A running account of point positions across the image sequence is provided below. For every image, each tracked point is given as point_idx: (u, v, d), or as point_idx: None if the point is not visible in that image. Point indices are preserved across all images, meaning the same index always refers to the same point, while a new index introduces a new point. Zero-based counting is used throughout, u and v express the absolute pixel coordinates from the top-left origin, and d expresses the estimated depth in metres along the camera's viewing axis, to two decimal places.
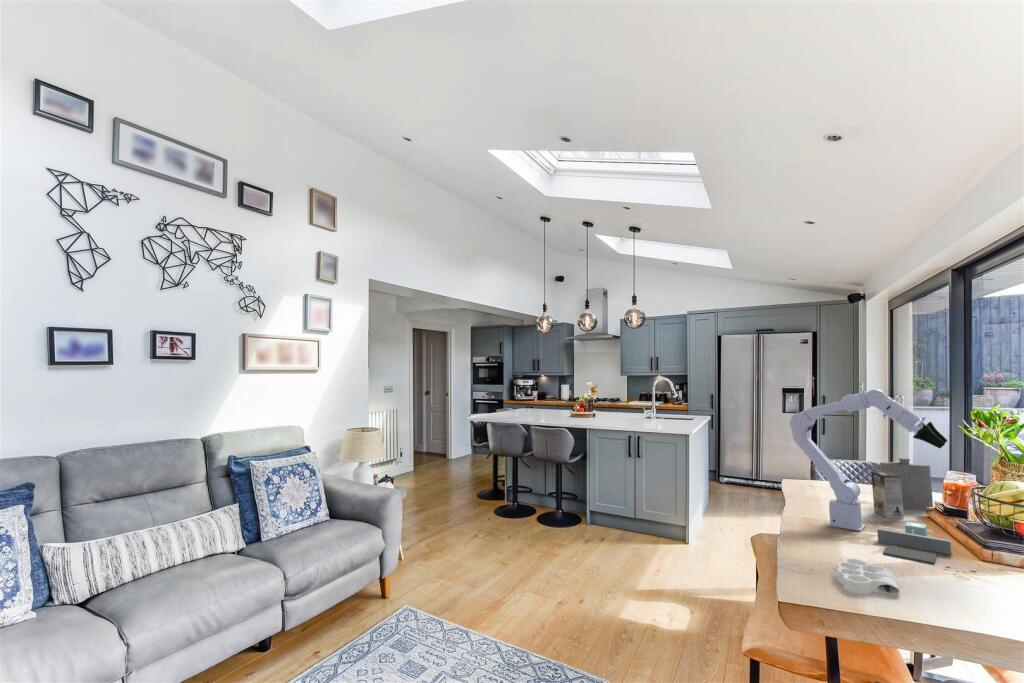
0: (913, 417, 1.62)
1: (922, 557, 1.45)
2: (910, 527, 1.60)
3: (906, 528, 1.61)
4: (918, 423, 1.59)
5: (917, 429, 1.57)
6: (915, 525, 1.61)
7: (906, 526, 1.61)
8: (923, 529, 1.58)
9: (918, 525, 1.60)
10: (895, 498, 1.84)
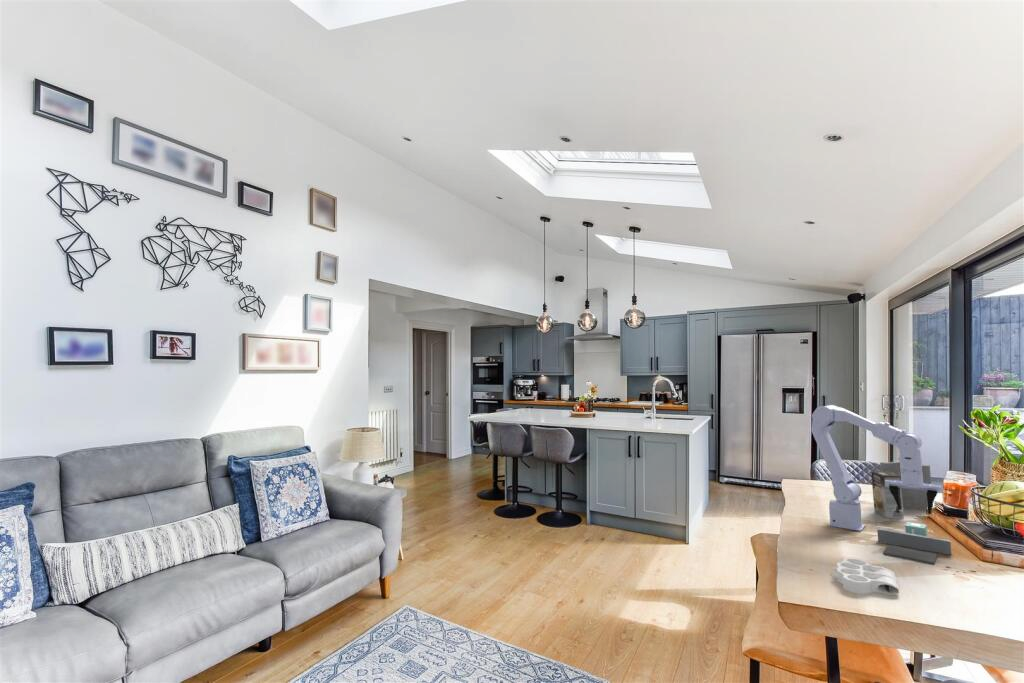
0: (903, 478, 1.62)
1: (922, 557, 1.45)
2: (910, 527, 1.60)
3: (906, 528, 1.61)
4: (895, 483, 1.64)
5: None
6: (915, 525, 1.61)
7: (906, 526, 1.61)
8: (923, 529, 1.58)
9: (918, 525, 1.60)
10: None
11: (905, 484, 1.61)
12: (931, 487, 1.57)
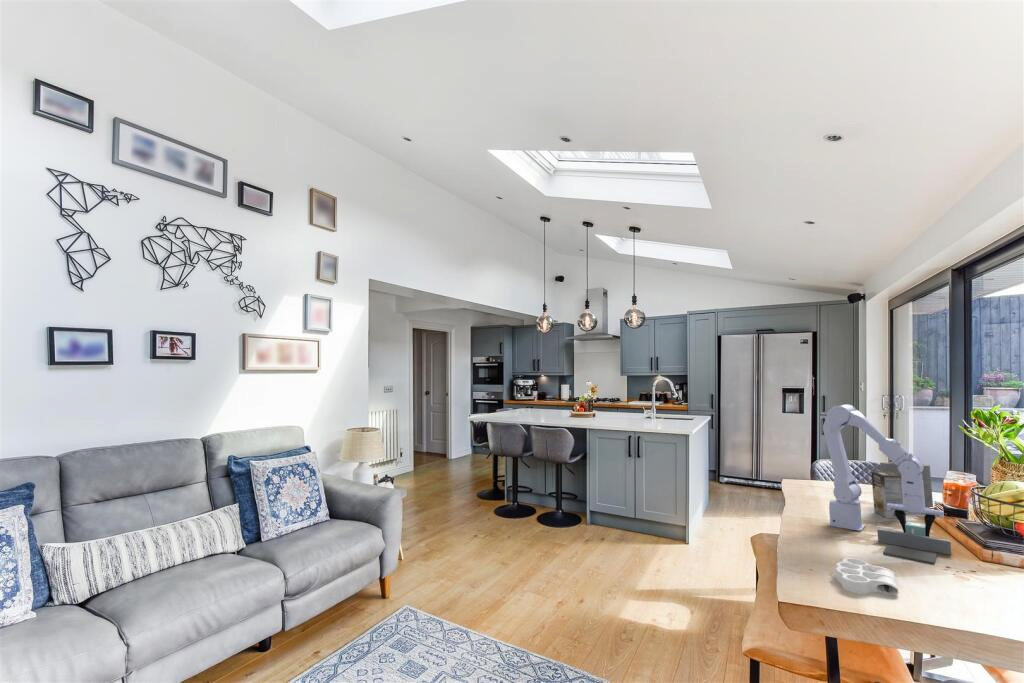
0: (905, 502, 1.62)
1: (922, 557, 1.45)
2: (910, 527, 1.60)
3: (906, 528, 1.61)
4: (897, 507, 1.63)
5: (887, 508, 1.66)
6: (915, 525, 1.61)
7: (906, 526, 1.61)
8: (923, 529, 1.58)
9: (918, 525, 1.60)
10: (895, 498, 1.84)
11: (907, 508, 1.61)
12: (933, 512, 1.57)
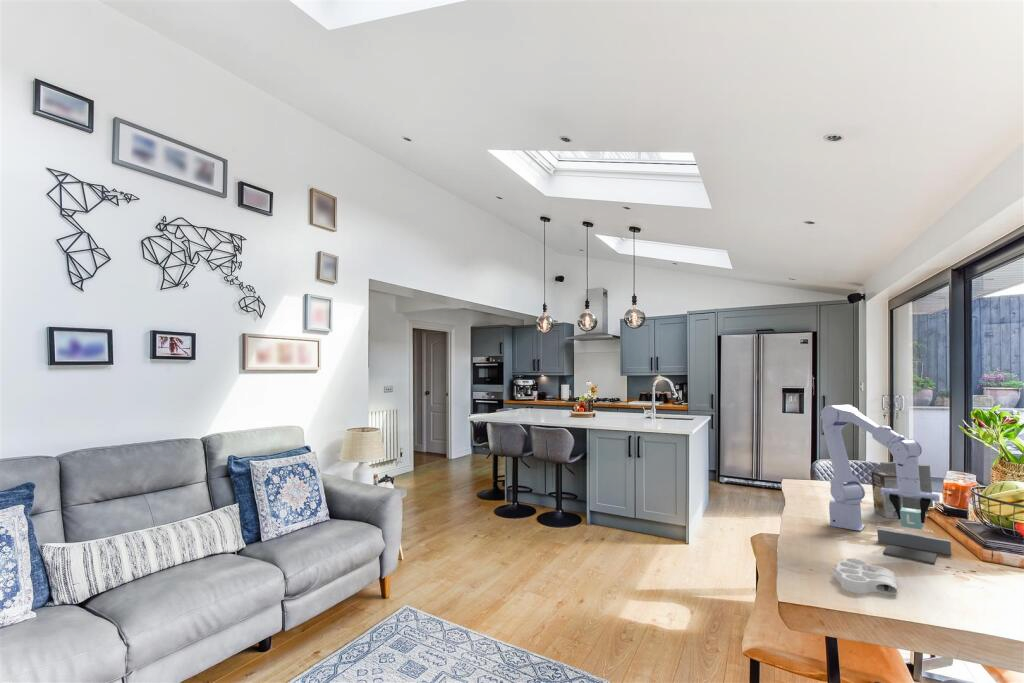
0: (899, 486, 1.56)
1: (922, 557, 1.45)
2: (905, 512, 1.54)
3: (901, 513, 1.55)
4: (891, 491, 1.57)
5: (881, 492, 1.60)
6: (910, 510, 1.55)
7: (901, 511, 1.55)
8: (918, 514, 1.52)
9: (913, 510, 1.55)
10: None
11: (902, 492, 1.55)
12: (929, 496, 1.51)
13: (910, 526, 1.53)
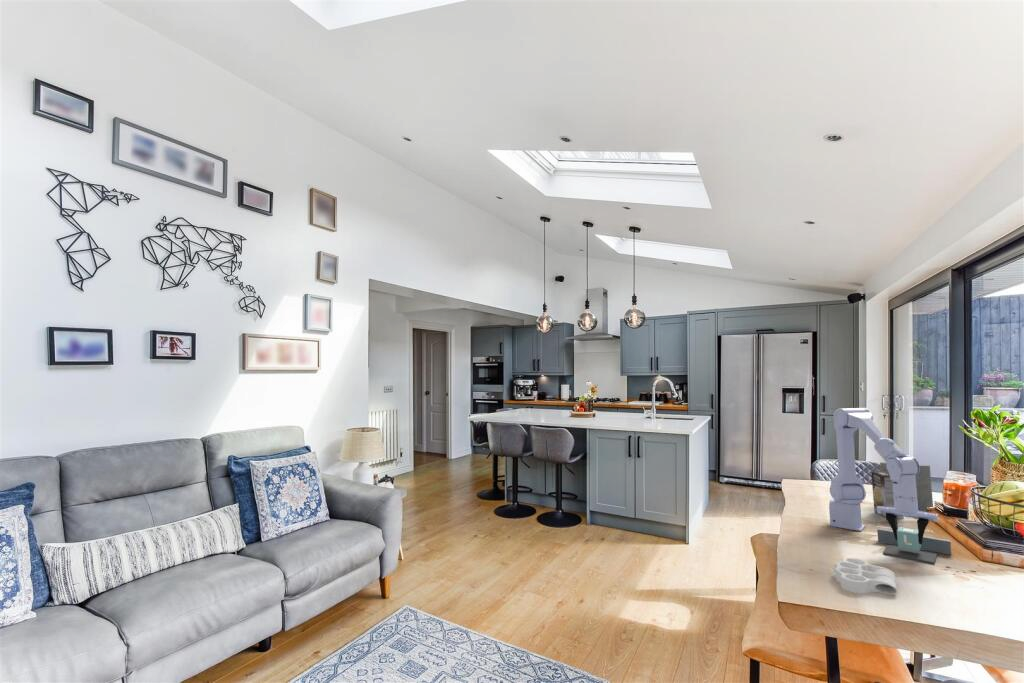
0: (896, 505, 1.50)
1: (922, 557, 1.45)
2: (902, 533, 1.49)
3: (898, 534, 1.49)
4: (887, 510, 1.51)
5: None
6: (908, 530, 1.49)
7: (898, 531, 1.49)
8: (916, 535, 1.46)
9: (911, 530, 1.49)
10: None
11: (898, 512, 1.49)
12: (926, 516, 1.45)
13: (907, 547, 1.48)
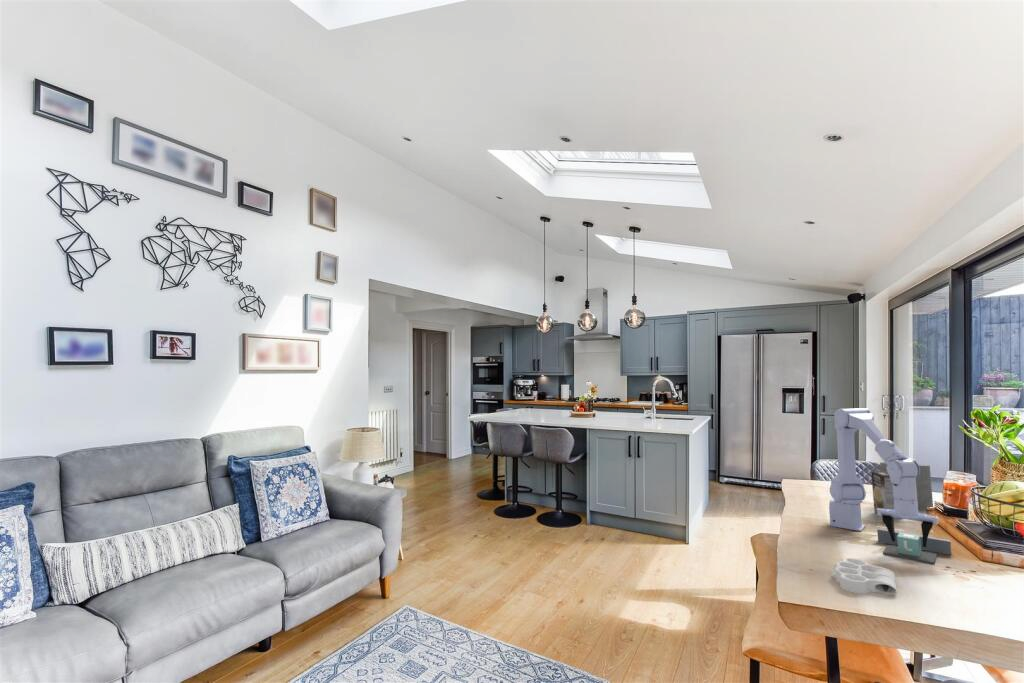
0: (896, 507, 1.50)
1: (922, 557, 1.45)
2: (902, 538, 1.48)
3: (898, 539, 1.49)
4: (888, 512, 1.51)
5: None
6: (908, 536, 1.49)
7: (898, 537, 1.49)
8: (916, 541, 1.46)
9: (911, 536, 1.49)
10: None
11: (899, 514, 1.49)
12: (927, 518, 1.45)
13: (908, 553, 1.47)
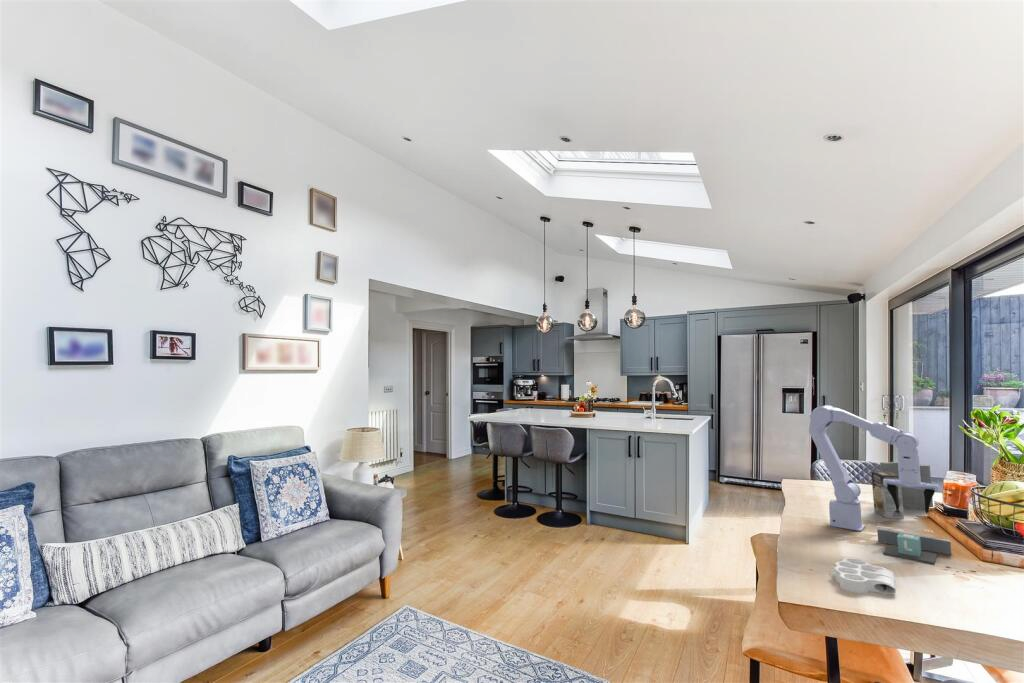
0: (901, 477, 1.64)
1: (922, 557, 1.45)
2: (902, 538, 1.48)
3: (898, 539, 1.49)
4: (893, 482, 1.66)
5: None
6: (908, 536, 1.49)
7: (898, 537, 1.49)
8: (916, 541, 1.46)
9: (911, 536, 1.49)
10: None
11: (903, 483, 1.63)
12: (928, 486, 1.59)
13: (908, 553, 1.47)
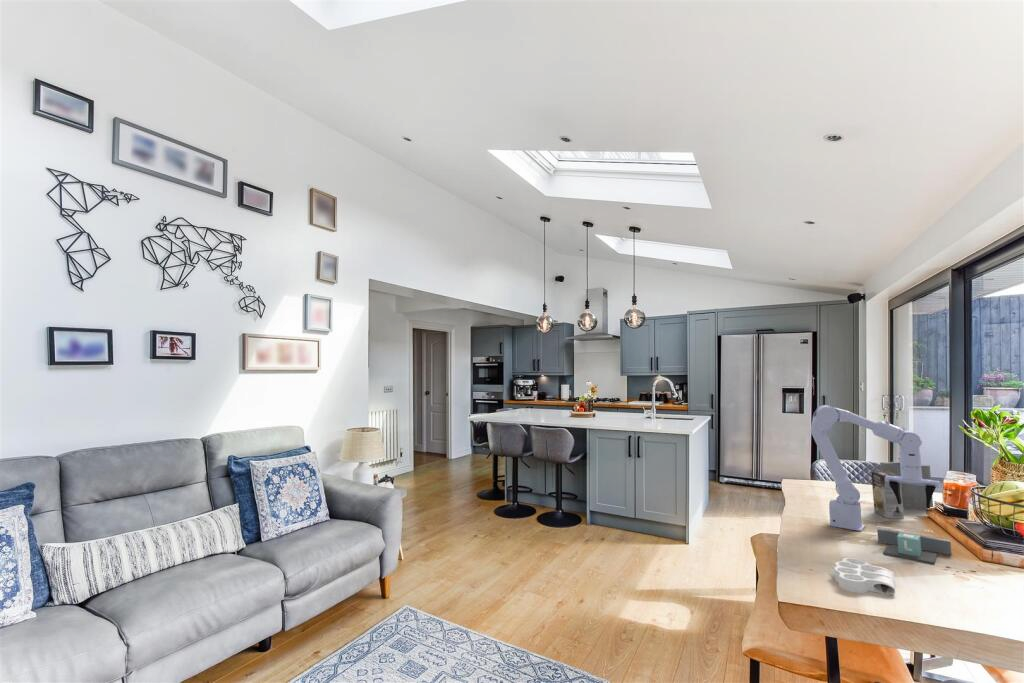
0: (903, 473, 1.68)
1: (922, 557, 1.45)
2: (902, 538, 1.48)
3: (898, 539, 1.49)
4: (895, 479, 1.70)
5: None
6: (908, 536, 1.49)
7: (898, 537, 1.49)
8: (916, 541, 1.46)
9: (911, 536, 1.49)
10: (895, 498, 1.84)
11: (905, 479, 1.68)
12: (930, 482, 1.64)
13: (908, 553, 1.47)
